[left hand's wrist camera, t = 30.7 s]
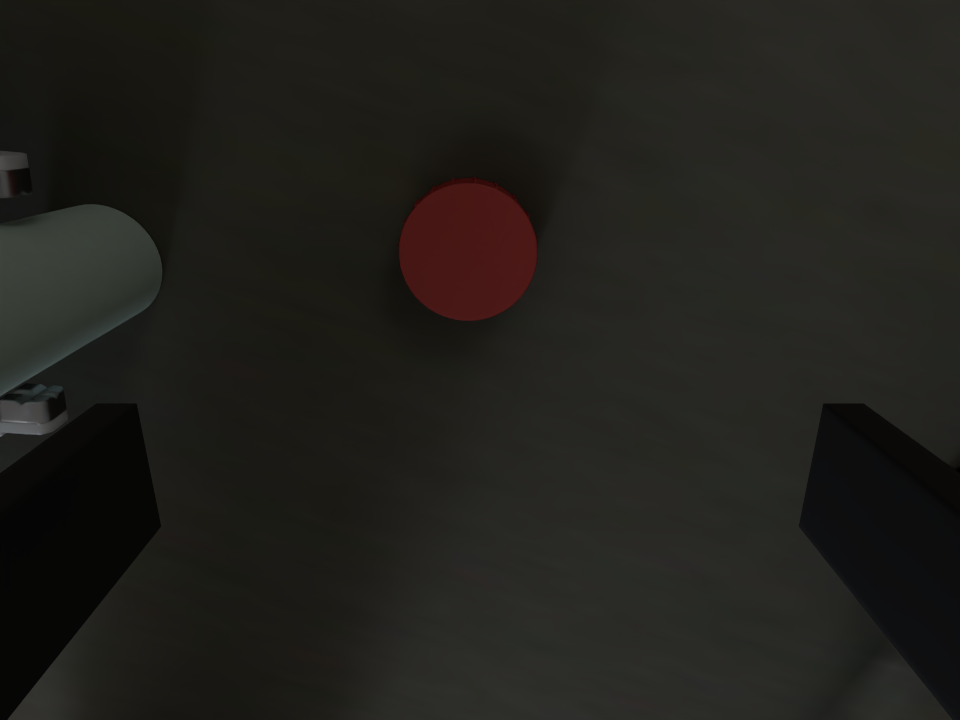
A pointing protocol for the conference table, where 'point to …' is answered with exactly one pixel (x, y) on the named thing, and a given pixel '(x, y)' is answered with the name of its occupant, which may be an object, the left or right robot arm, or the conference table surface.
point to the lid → (468, 249)
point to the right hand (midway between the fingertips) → (40, 300)
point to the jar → (69, 284)
